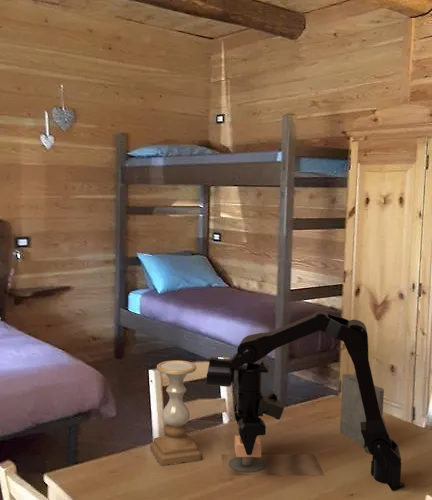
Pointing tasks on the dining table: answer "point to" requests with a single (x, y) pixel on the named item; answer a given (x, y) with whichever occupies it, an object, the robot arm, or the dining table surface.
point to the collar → (241, 450)
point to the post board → (271, 465)
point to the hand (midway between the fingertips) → (247, 449)
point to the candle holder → (175, 418)
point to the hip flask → (354, 408)
